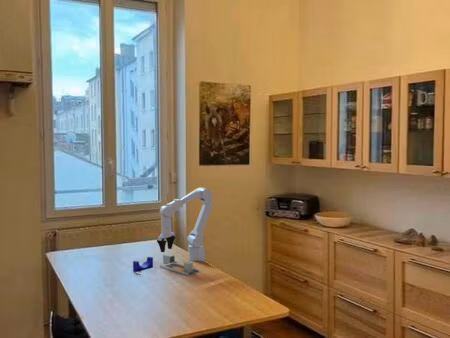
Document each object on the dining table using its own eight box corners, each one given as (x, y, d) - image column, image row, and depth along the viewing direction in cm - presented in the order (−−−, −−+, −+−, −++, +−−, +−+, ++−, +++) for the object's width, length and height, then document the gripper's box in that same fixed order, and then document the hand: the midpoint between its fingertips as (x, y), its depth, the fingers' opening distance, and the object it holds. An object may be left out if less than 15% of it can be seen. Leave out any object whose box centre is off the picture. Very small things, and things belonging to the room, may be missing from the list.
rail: (173, 266, 266) (173, 261, 266) (200, 274, 251) (200, 269, 251) (159, 269, 258) (159, 265, 258) (186, 278, 244) (186, 273, 243)
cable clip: (147, 266, 265) (147, 256, 265) (152, 267, 263) (152, 257, 262) (131, 271, 256) (131, 260, 255) (136, 273, 253) (136, 262, 253)
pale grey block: (167, 261, 275) (167, 253, 274) (174, 264, 270) (174, 255, 270) (163, 263, 272) (163, 254, 272) (170, 265, 268) (170, 256, 267)
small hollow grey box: (188, 270, 252) (188, 261, 252) (192, 271, 250) (192, 262, 250) (183, 272, 250) (183, 262, 249) (187, 273, 248) (187, 264, 247)
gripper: (166, 224, 274) (167, 246, 275) (153, 228, 260) (153, 252, 262) (177, 225, 271) (177, 248, 272) (163, 229, 258) (164, 254, 259)
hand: (166, 250), depth 267 cm, fingers open, 7 cm apart
